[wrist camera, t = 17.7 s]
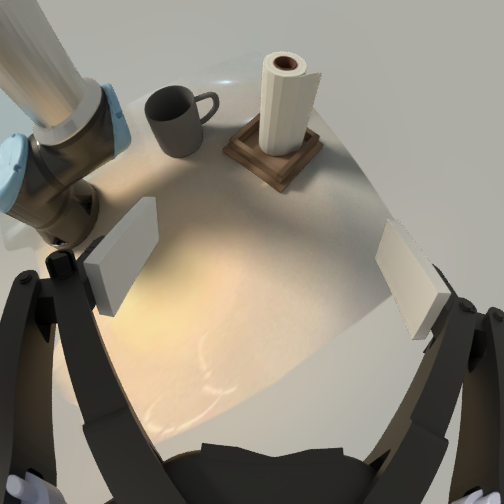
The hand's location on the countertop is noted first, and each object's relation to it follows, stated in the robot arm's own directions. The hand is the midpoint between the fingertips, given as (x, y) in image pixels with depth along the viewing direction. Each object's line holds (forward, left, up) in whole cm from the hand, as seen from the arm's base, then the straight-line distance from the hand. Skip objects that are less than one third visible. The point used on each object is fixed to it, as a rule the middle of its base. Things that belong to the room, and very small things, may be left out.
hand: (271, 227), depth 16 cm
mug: (-30, +15, -34) cm, 47 cm away
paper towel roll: (-14, +23, -33) cm, 43 cm away
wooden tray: (-15, +23, -34) cm, 43 cm away
